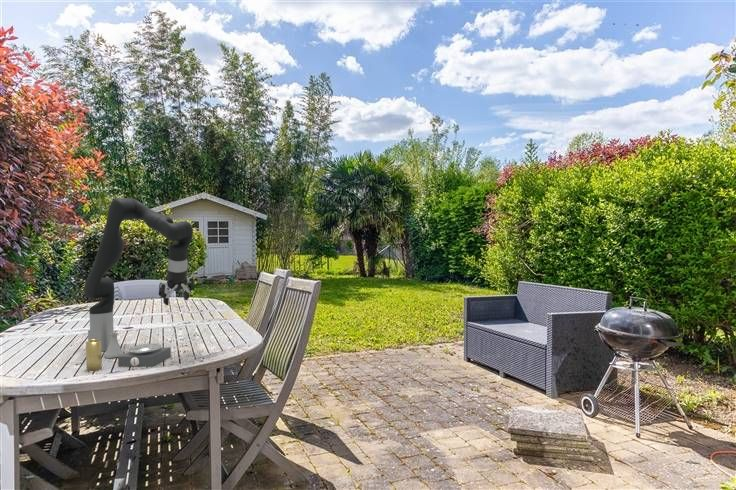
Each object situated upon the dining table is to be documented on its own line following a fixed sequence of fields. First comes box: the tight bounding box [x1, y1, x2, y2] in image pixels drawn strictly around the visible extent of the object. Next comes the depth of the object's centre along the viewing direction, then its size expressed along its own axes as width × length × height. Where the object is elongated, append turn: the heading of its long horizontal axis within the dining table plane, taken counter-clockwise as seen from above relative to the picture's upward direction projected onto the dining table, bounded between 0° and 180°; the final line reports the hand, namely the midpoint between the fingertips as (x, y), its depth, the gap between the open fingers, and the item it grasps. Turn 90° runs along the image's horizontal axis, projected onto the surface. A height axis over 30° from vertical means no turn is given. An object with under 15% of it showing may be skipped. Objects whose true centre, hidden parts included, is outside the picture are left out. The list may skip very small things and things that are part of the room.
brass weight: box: [85, 338, 103, 372], centre depth 166 cm, size 5×5×12 cm
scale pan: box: [128, 343, 162, 354], centre depth 176 cm, size 12×12×1 cm
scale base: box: [117, 346, 172, 368], centre depth 176 cm, size 14×14×4 cm
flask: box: [103, 332, 124, 359], centre depth 185 cm, size 7×7×10 cm
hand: (176, 302), depth 183 cm, fingers open, 8 cm apart
